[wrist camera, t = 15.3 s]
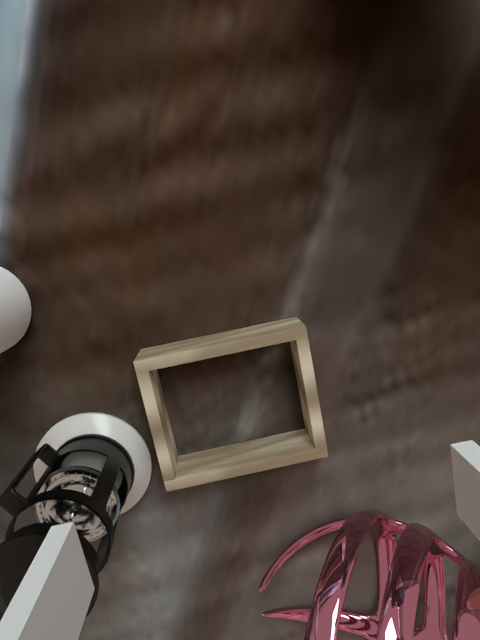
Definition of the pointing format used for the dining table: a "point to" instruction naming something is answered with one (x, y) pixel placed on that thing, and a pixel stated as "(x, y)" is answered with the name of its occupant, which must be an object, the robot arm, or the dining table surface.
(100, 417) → the trivet
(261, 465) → the holder
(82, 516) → the french press
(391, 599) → the spiral basket
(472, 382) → the dining table surface
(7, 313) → the wine bottle
